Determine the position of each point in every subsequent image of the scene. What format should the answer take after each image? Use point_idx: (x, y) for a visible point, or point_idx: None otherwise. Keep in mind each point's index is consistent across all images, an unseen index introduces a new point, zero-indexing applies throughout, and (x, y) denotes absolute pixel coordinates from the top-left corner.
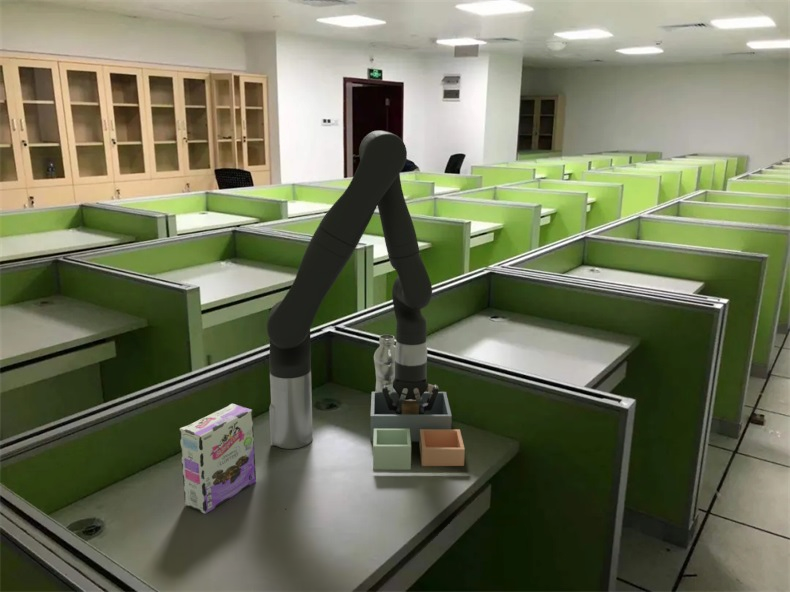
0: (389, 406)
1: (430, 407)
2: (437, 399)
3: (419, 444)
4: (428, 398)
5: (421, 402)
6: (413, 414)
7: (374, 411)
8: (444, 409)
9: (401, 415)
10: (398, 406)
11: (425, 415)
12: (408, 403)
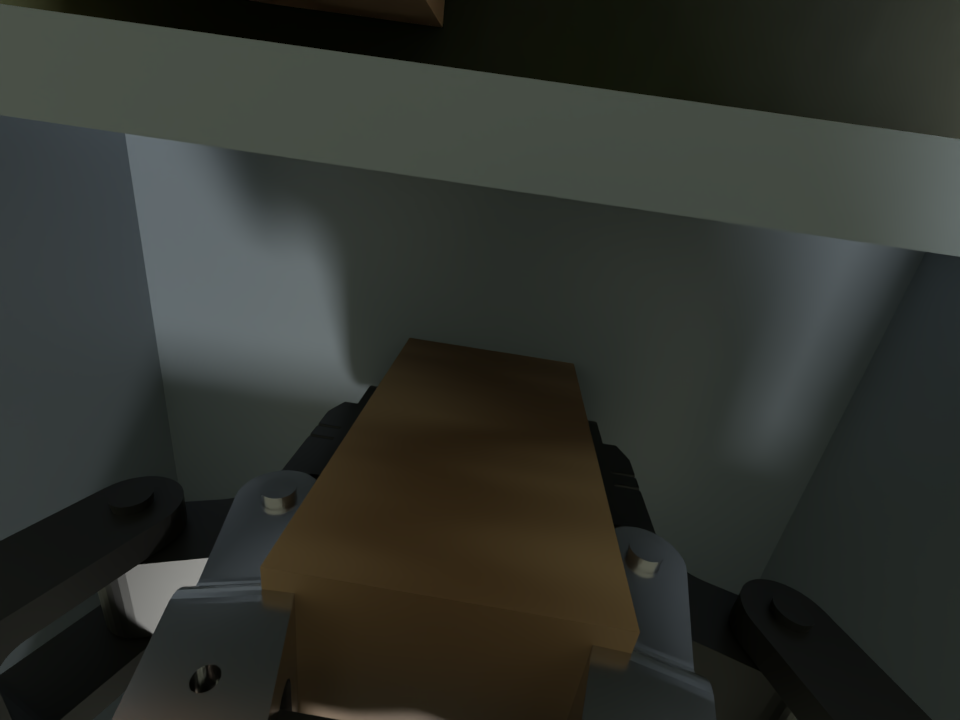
0: (838, 652)
1: (98, 509)
2: (105, 709)
3: (436, 18)
4: (61, 718)
5: (177, 611)
6: (421, 450)
7: (905, 641)
8: (22, 525)
9: (810, 158)
10: (668, 622)
11: (111, 70)
12: (478, 646)
